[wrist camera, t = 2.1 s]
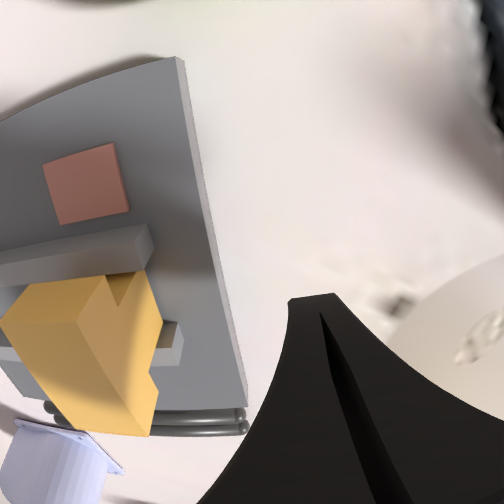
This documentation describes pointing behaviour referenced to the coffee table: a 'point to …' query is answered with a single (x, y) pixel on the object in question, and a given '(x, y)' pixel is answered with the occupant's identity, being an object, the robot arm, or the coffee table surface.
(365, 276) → the coffee table surface
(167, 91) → the panel
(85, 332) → the toggle knob
